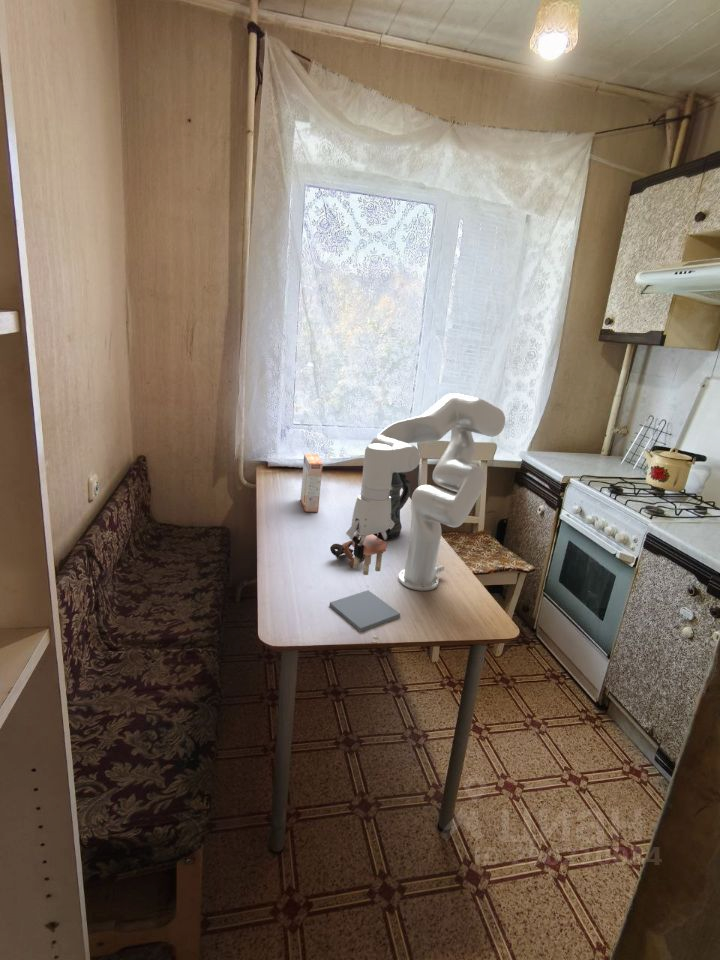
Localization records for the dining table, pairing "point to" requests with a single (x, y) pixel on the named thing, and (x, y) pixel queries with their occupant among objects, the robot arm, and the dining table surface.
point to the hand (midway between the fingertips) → (368, 553)
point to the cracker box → (311, 482)
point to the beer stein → (397, 501)
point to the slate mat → (364, 610)
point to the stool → (371, 552)
